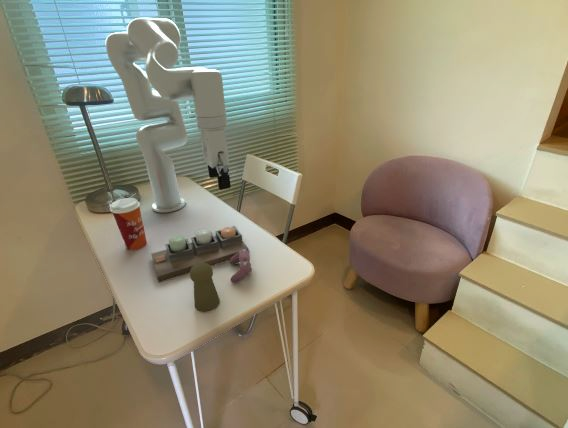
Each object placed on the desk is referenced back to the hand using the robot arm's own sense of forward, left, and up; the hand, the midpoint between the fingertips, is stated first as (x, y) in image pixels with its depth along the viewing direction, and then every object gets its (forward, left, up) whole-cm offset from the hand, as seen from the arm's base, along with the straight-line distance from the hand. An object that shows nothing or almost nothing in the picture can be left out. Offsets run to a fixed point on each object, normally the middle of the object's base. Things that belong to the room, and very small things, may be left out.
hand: (219, 182), depth 90 cm
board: (+3, -9, -21) cm, 23 cm away
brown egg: (+2, 0, -18) cm, 18 cm away
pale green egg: (+2, -15, -17) cm, 22 cm away
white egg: (+2, -7, -17) cm, 18 cm away
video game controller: (+16, -1, -21) cm, 26 cm away
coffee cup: (-14, -26, -21) cm, 36 cm away
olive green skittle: (+23, -13, -21) cm, 34 cm away
